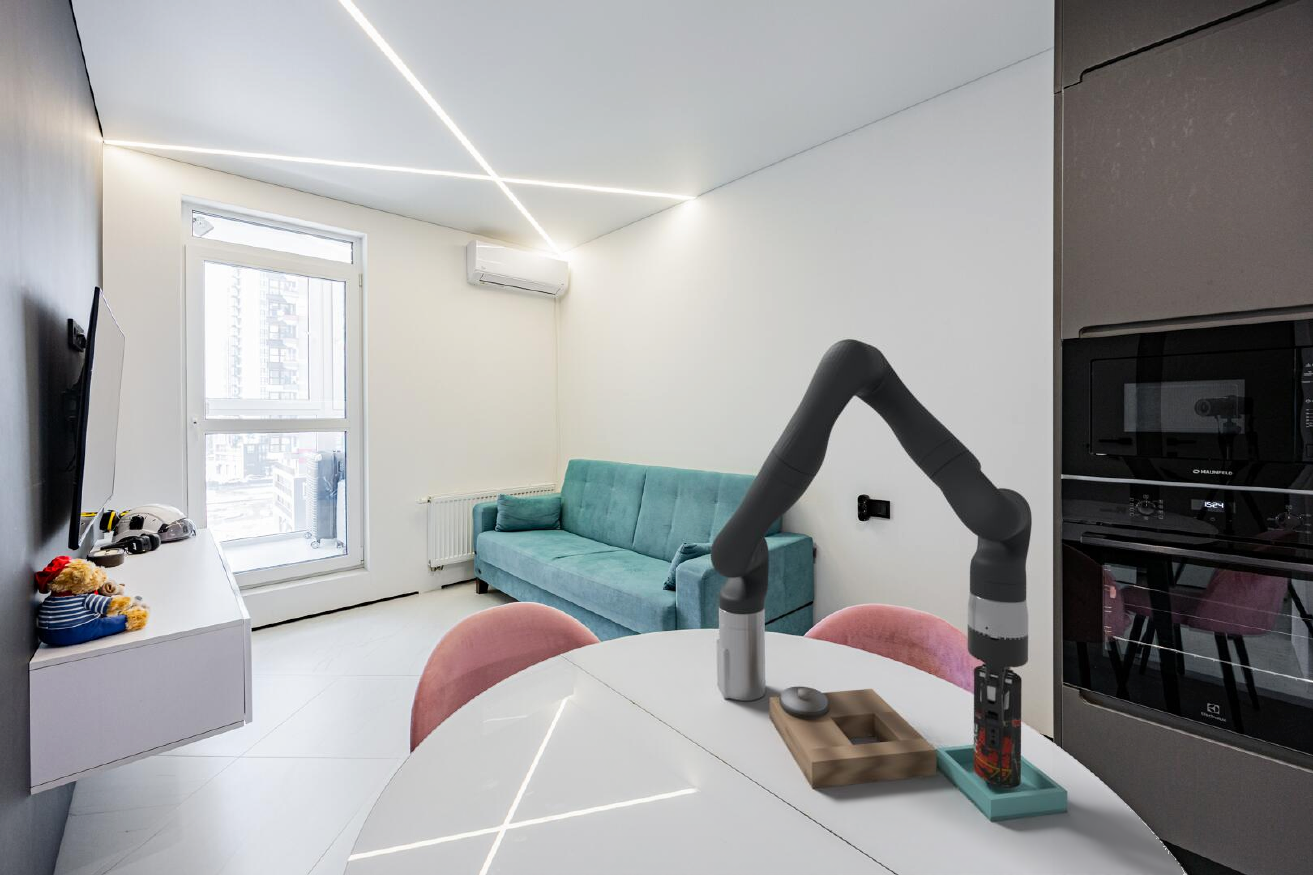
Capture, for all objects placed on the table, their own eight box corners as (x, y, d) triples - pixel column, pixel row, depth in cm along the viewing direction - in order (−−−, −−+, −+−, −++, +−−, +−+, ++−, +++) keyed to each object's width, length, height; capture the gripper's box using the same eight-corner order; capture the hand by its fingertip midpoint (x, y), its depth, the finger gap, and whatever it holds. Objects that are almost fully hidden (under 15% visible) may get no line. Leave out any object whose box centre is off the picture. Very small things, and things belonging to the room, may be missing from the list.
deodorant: (964, 762, 82) (965, 666, 82) (1001, 760, 82) (1001, 664, 82) (991, 789, 76) (992, 685, 76) (1031, 786, 77) (1032, 683, 76)
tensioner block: (812, 788, 80) (811, 743, 80) (769, 717, 99) (768, 681, 99) (936, 775, 82) (936, 731, 82) (871, 708, 102) (870, 673, 101)
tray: (990, 821, 73) (990, 799, 73) (936, 766, 84) (936, 748, 84) (1067, 812, 74) (1067, 790, 74) (1003, 759, 86) (1003, 741, 86)
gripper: (974, 606, 87) (974, 708, 87) (959, 635, 75) (959, 752, 76) (1031, 616, 82) (1030, 724, 82) (1024, 648, 71) (1023, 773, 71)
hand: (996, 737), depth 79 cm, fingers closed on deodorant, 6 cm apart
